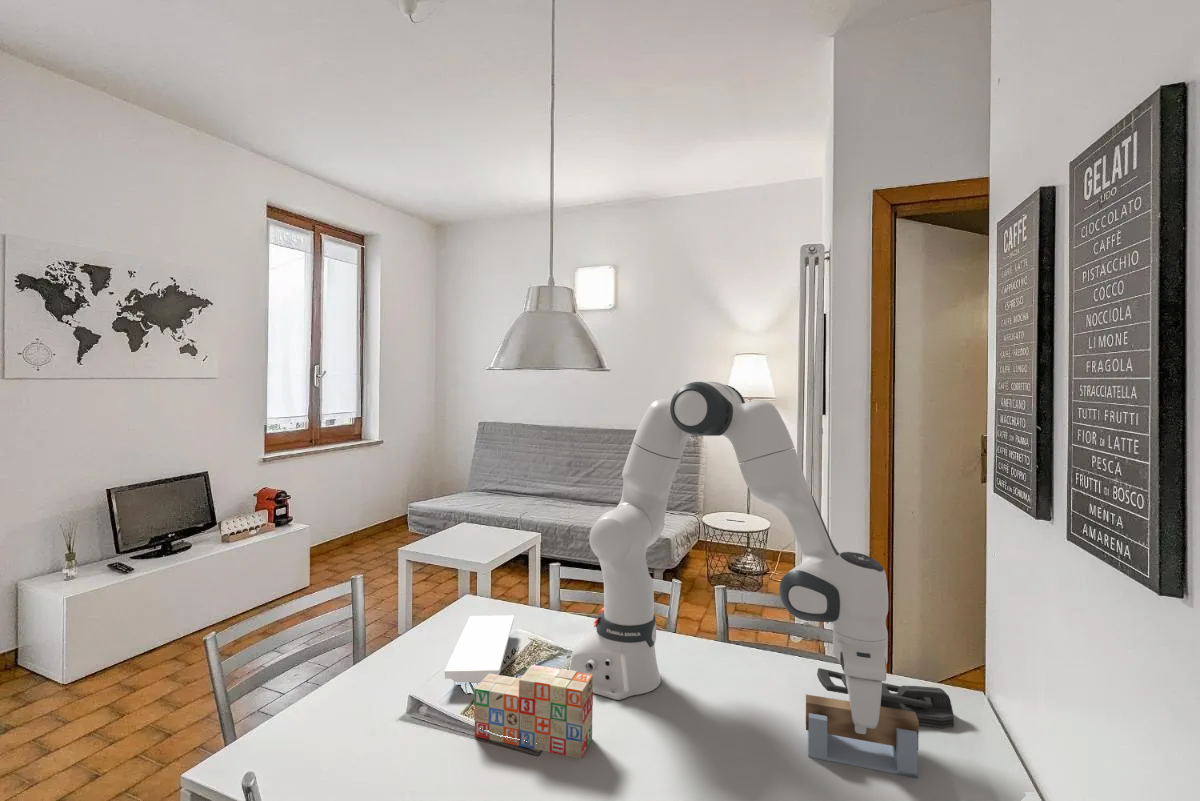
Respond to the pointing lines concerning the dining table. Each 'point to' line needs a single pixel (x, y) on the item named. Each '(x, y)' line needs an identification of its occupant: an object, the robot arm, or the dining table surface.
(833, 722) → the rail
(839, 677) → the zipper pull
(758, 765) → the dining table surface
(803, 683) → the dining table surface
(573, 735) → the stack of blocks
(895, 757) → the grey cradle stand
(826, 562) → the robot arm
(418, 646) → the dining table surface
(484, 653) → the shelf
